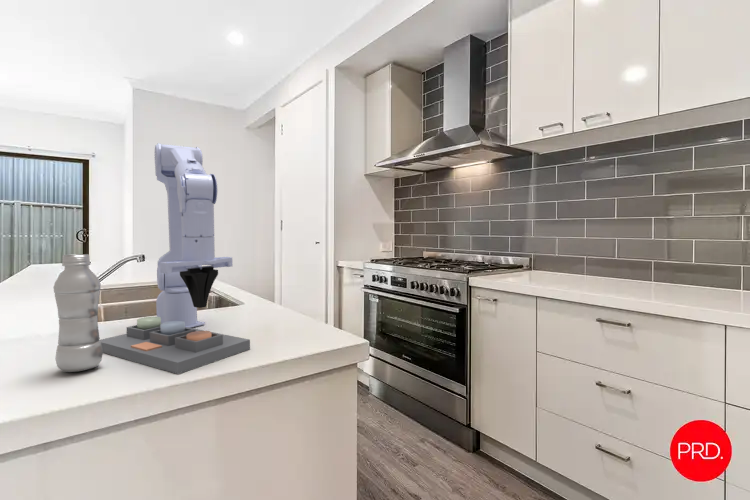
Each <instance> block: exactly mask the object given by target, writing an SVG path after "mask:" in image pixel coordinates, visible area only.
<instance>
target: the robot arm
mask: <svg viewBox="0 0 750 500" xmlns="http://www.w3.org/2000/svg"><path fill="white" fill-rule="evenodd" d="M203 159H204V157H203V152H202V149H200V147H198V146H196V147H193V146H184V145H183V146H182V145H176V144H175V145H173V144H165V143H163V144H162V143H160V142H158V143H157V144H156V145H154V166H155V167H154V168H155V169H154V170H155V172H154V173H155V176H156V181H159V182H160V183H163V184H164V186H165V190H166V195H167V215H168V216H167V219H168V220H167V221H168V241H169V243H168V245H169V250H168V251H167V252H166V253H164V254H163V255H162V256H160V257H159V258H158V260H157V269H156V281H157V288H158V289H159V290H160V291H161V292H160V293H159V294H158V295H157V297H156V302H155V305H156V307H155V308H156V317H161V323H165V322H170V321H184V322H185V327H188V328H194V327H200V326H203V325H206V321H205V322H204V321H199V320H198V309H202V308H206V307H207V304H208V300H209V296H210V292H211V289H212V287H213V285H214V283H215V280H216V279H217V278H218V275H219V269H217V268H229V267H233V257H232V256H218V257H216V254H215V252H216V250H215V204H216V203H217V199H218V181H217V177H216V175H215V173H210V174H208V173H207V172H206V170H205V168H204V167H203Z"/></svg>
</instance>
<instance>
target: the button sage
mask: <svg viewBox="0 0 750 500" xmlns="http://www.w3.org/2000/svg"><path fill="white" fill-rule="evenodd" d="M160 324H161V317H157V316H145V317H140V318H137V319H136V325H137V329H142V330H147V329H152V328H156V327H160Z"/></svg>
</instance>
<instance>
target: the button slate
mask: <svg viewBox="0 0 750 500" xmlns="http://www.w3.org/2000/svg"><path fill="white" fill-rule="evenodd" d="M160 328H161V334H165V335H173V334H177V333H181V332H185V322H184V321H170V322H165V323H162V324H160Z"/></svg>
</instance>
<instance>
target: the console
mask: <svg viewBox="0 0 750 500" xmlns="http://www.w3.org/2000/svg"><path fill="white" fill-rule="evenodd" d="M161 324H162V323H161ZM195 331H204V330H203V329H199V328H194V327H192V328H188V327H185V332H181V333H177V334H173V335H165V334H161V328H160V327H156V328H152V329H147V330H142V329H137V324H136V325H135V324H134V325H130V326H126V333H124V334H119V335H115V336H112V337H106V338H102V339H99V340H100V341H101V344H102V350H103V354H107V355H110V356H114V357H118V358H119V359H124V360H126V361H127V360H128V361H131V362H133V363H138V364H141V365H145V366H148V367H151V368H154V369H158V370H161V371H165V372H168V373H173V374H175V375H181V374H183V373H185V372H188V371H191V370H194V369H198V368H200V367H203V366H207V365H208V364H211V363H214V362H218V361H219V360H223V359H226V358H229V357H231V356H235V355H237V354H241V353H243V352H247V351H250V350H251V339H249V338H244V337H238V336H234V335H229V334H228V335H227V334H223V333H217V332H212V331H210V332H211V333H212V337H210V338H206V339H203V340H199V341H192V340H188V339H187V337H186V335H187V334H188V333H191V332H195Z"/></svg>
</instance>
